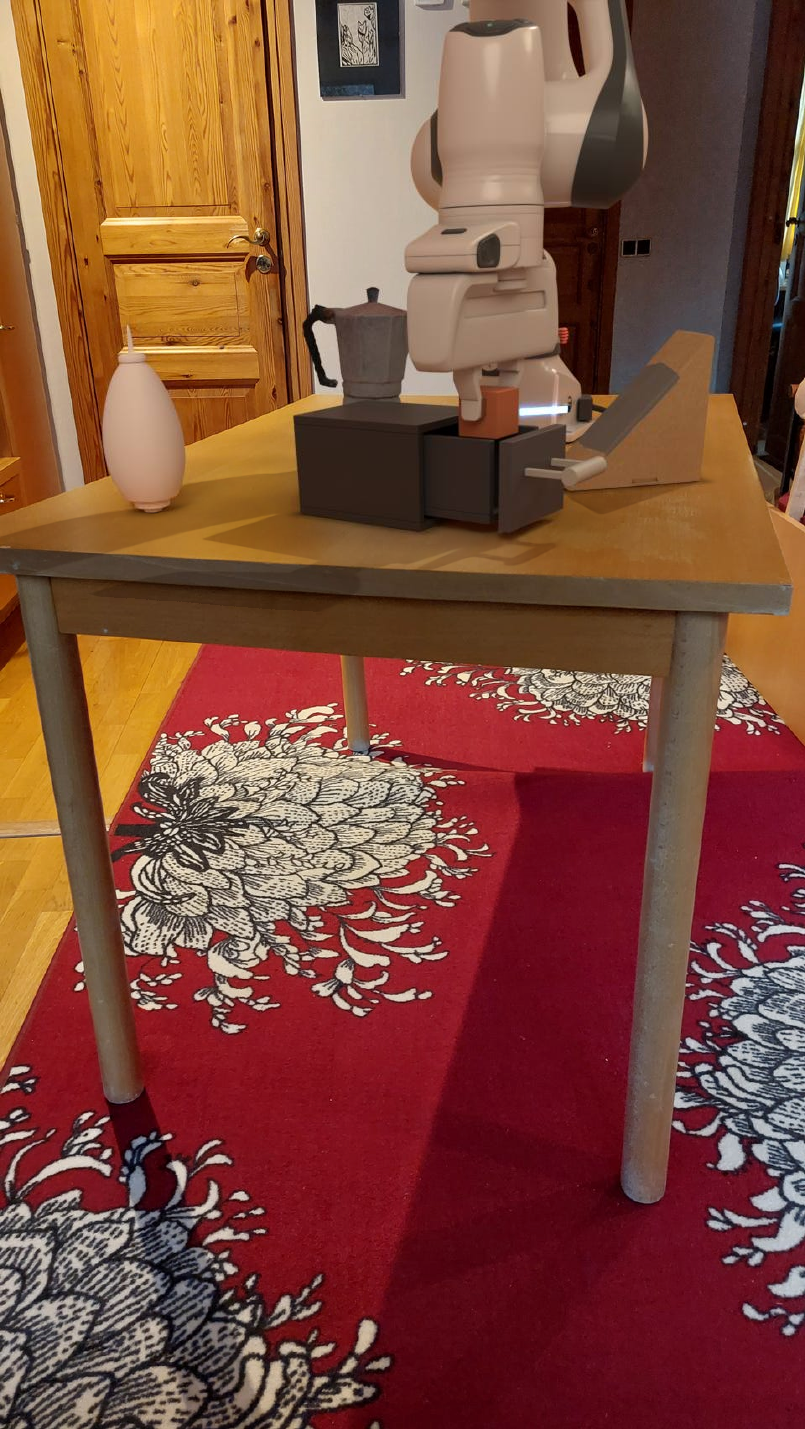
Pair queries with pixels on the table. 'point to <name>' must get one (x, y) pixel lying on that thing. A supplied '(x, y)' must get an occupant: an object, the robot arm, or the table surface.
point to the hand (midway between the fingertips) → (489, 415)
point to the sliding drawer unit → (500, 475)
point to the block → (494, 414)
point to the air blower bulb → (142, 435)
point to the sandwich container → (654, 420)
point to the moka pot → (364, 348)
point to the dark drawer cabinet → (367, 461)
